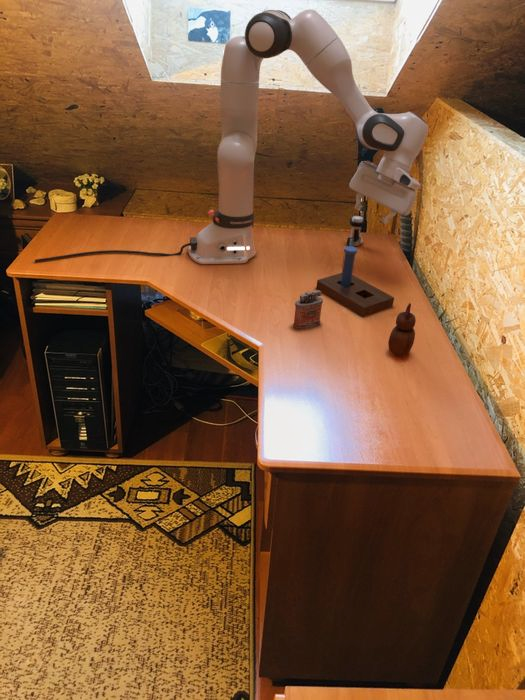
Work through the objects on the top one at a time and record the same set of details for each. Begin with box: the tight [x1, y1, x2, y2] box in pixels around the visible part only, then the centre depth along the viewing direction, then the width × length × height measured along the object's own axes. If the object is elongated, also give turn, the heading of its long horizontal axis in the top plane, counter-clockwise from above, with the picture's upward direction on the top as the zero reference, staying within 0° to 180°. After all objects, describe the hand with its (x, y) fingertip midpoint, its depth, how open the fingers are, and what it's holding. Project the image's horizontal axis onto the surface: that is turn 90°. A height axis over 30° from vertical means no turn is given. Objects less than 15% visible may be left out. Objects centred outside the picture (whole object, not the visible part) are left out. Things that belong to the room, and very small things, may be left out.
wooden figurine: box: [387, 302, 417, 358], centre depth 142 cm, size 7×6×15 cm
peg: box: [340, 245, 358, 288], centre depth 169 cm, size 4×4×14 cm
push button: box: [346, 215, 366, 247], centre depth 202 cm, size 7×5×10 cm
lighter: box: [292, 290, 324, 331], centre depth 152 cm, size 8×3×10 cm, turn 117°
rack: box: [316, 272, 395, 318], centre depth 169 cm, size 12×20×3 cm, turn 36°
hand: (369, 216), depth 171 cm, fingers open, 8 cm apart
